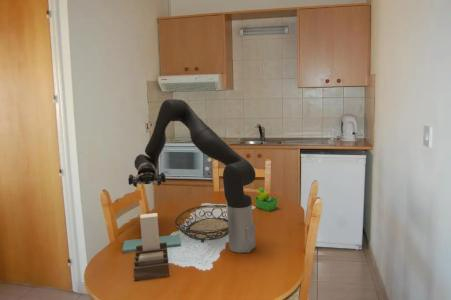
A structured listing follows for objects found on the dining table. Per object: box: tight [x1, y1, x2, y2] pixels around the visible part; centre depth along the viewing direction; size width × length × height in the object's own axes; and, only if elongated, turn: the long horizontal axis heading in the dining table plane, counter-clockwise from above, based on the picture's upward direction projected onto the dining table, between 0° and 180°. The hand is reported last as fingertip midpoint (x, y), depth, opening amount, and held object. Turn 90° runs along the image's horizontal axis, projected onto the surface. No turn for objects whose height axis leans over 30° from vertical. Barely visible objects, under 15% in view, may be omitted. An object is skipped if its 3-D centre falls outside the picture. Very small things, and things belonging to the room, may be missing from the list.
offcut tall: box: [138, 256, 164, 267], centre depth 123 cm, size 2×8×6 cm, turn 101°
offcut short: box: [140, 251, 163, 256], centre depth 132 cm, size 2×8×4 cm, turn 101°
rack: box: [133, 242, 170, 282], centre depth 130 cm, size 19×11×5 cm, turn 11°
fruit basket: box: [253, 187, 279, 212], centre depth 190 cm, size 11×9×11 cm
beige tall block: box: [139, 212, 160, 251], centre depth 135 cm, size 4×6×16 cm, turn 101°
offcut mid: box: [139, 253, 163, 258], centre depth 127 cm, size 2×8×4 cm, turn 101°
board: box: [121, 234, 182, 254], centre depth 149 cm, size 10×22×2 cm, turn 101°
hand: (147, 183), depth 143 cm, fingers open, 8 cm apart
